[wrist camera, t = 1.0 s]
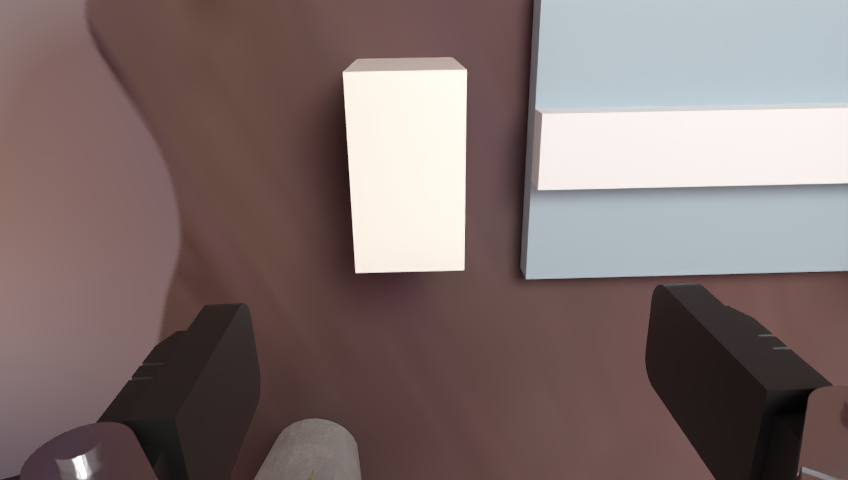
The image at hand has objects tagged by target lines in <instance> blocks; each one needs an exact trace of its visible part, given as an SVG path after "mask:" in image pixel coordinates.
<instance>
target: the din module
mask: <svg viewBox="0 0 848 480" xmlns="http://www.w3.org/2000/svg"><path fill="white" fill-rule="evenodd" d="M343 83H344V99H345V115H346V131H347V147H348V163H349V178H350V194H351V210H352V226H353V242H354V258H355V273H381V272H419V271H458V270H464V256H465V176H466V96H467V69H465V68H464V67H463V66H462V65H461V64H460V63H458V62H457V61H456V60H455V59H454V58H453V57H439V58H380V59H357V60H355V61H354V62H353V63H352V64H351V65H350V66H349V67H348V68H346V69H345V70H344V71H343Z"/></svg>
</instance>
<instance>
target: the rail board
mask: <svg viewBox="0 0 848 480" xmlns="http://www.w3.org/2000/svg"><path fill="white" fill-rule="evenodd" d="M520 268H521V270H522V272H523V274H524V277H525V279H557V278H595V277H632V276H670V275H708V274H745V273H783V272H821V271H848V0H534V11H533V30H532V50H531V69H530V89H529V108H528V128H527V147H526V167H525V186H524V206H523V225H522V245H521V264H520Z"/></svg>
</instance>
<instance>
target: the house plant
mask: <svg viewBox="0 0 848 480" xmlns="http://www.w3.org/2000/svg"><path fill="white" fill-rule="evenodd" d="M254 480H361V472H360V463H359V455H358V448H357V444H356V442H355V440H354V438H353V436H352V435H351V434H350V433H349V432H348V431H347V430H346V429H345V428H344V427H342V426H340V425H339V424H337V423H335V422H332V421H329V420H325V419H317V418H313V419H304V420H301V421H297V422H294V423H293V424H291V425H289V426H288V427H286V428H285V429H284V430H283V431H282V432H281V433H280V434H279V436H278V438H277V439H276V441H275V443H274V445H273V446H272V448H271V450H270V452H269V454H268V455H267V457H266V459H265V461H264V462H263V464H262V466H261V468H260V470H259V471H258V473H257V475H256V477H255V478H254Z"/></svg>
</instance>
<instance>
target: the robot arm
mask: <svg viewBox="0 0 848 480" xmlns="http://www.w3.org/2000/svg"><path fill="white" fill-rule="evenodd" d="M645 362H646V370H647V374H648V378H649V381H650V383H651V385H652V387H653V388H654V390H655V391H656V393H657V394H658V396H659V397H660V399H661V400H662V401H663V403H664V404H665V406H666V407H667V409H668V410H669V412H670V413H671V415H672V416H673V418H674V419H675V421H676V422H677V423H678V425H679V426H680V428H681V429H682V431H683V432H684V434H685V435H686V437H687V438H688V440H689V441H690V443H691V444H692V445H693V447H694V448H695V450H696V451H697V453H698V454H699V456H700V457H701V459H702V460H703V462H704V463H705V465H706V466H707V468H708V469H709V470H710V472H711V473H712V475H713V476H714V478H715V479H716V480H848V386H833V385H832V384H831V383H830V382H829V381H828V380H826V379H825V378H824V377H823V376H822V375H820V374H819V373H818V372H817V371H816V370H814V369H813V368H812V367H811V366H810V365H809V364H807V363H806V362H805V361H804V360H803V359H801V358H800V357H799V356H798V355H797V354H796V353H794V352H793V351H792V350H791V349H789V350H787V346H786V345H785V344H784V343H783V342H781V341H780V340H779V339H778V338H777V337H772V333H771V332H770V331H768V330H767V329H766V328H765V327H764V326H762V325H761V324H760V323H759V322H758V321H757V320H755V319H754V318H752V317H750V316H748V315H746V314H744V313H742V312H740V311H737V310H735V309H733V308H731V307H729V306H725V305H723V304H722V303H721V302H720V301H719V300H718V299H717V298H715V297H714V296H713V295H712V294H711V293H710V292H709V291H708V290H706V289H705V288H704V287H703V286H702V285H700V284H698V283H686V284H665V285H658V286H657V287H656V288H655V289H654V292H653V295H652V302H651V310H650V319H649V328H648V336H647V345H646V354H645ZM259 395H260V371H259V365H258V358H257V352H256V346H255V340H254V334H253V327H252V321H251V315H250V311H249V308H248V306H247V305H246V304H245V303H238V304H217V305H206V306H204V307H203V308H202V310H201V311H200V313H199V314H198V315H197V317H196V318H195V320H194V321H193V323H192V324H191V325H190V327H189V328H188V330H187V331H177V332H175V333H174V334H172V335H171V336H170V337H168V338H167V339H165V340H164V341H162V342H161V343H159V344H158V345H156V346H155V347H154V349H153V350H152V351H151V353H150V354H149V355H148V356H147V358H146V359H145V360H144V362H143V366H140V367H139V368H138V369H137V371H136V372H135V373H134V374H133V376H132V380H129V381H128V382H127V384H126V385H125V386H124V387H123V389H122V390H121V391H120V393H119V394H118V395H117V396H116V398H115V399H114V400H113V402H112V403H111V404H110V406H109V407H108V408H107V409H106V411H105V412H104V413H103V415H102V416H101V417H100V418H99V420H98V421H97V422H96V423H93V424H88V425H85V426H80V427H77V428H74V429H71V430H69V431H67V432H64V433H62V434H60V435H58V436H56V437H54V438H53V439H51V440H50V441H48V442H46V443H45V444H43V445H42V446H41V447H39V448H38V449H37V450H36V451H35V452H34V453H32V454H31V455H30V456H29V458H28V459H27V460H26V461H25V463H24V465H23V466H22V468H21V471H20V475H17V476H14V477H10V478H6V479H2V480H228V479H229V477H230V474H231V472H232V469H233V466H234V464H235V461H236V459H237V456H238V453H239V451H240V448H241V446H242V443H243V441H244V438H245V435H246V433H247V430H248V428H249V425H250V422H251V420H252V417H253V415H254V412H255V409H256V407H257V404H258V400H259Z"/></svg>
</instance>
